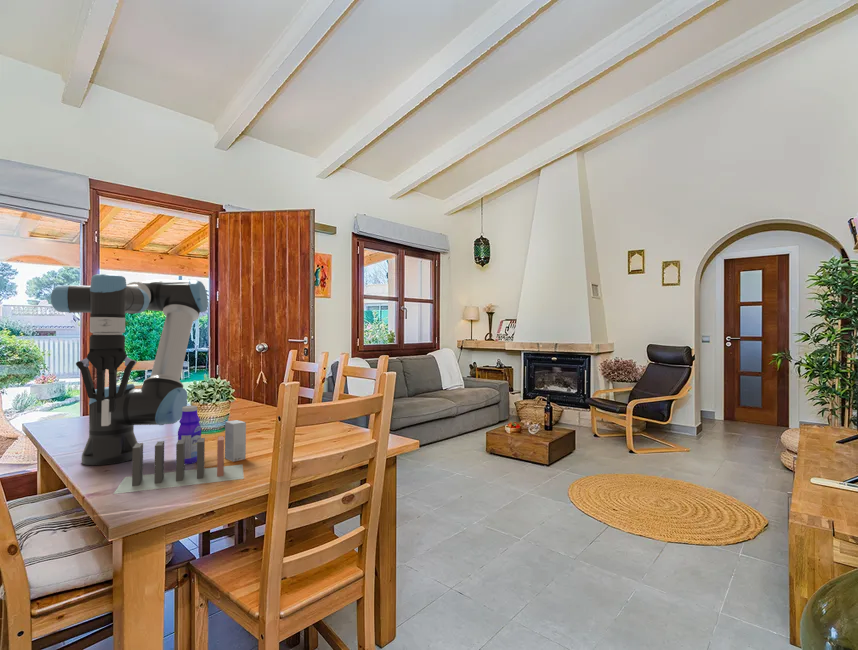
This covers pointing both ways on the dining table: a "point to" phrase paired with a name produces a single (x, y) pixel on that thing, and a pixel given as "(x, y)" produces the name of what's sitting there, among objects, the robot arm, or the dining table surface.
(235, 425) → the skincare box
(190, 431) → the bottle
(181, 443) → the domino
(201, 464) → the domino
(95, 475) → the dining table surface
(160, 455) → the domino
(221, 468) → the end domino
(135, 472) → the domino
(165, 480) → the mat
